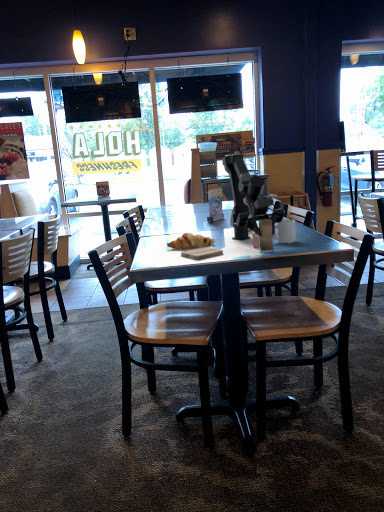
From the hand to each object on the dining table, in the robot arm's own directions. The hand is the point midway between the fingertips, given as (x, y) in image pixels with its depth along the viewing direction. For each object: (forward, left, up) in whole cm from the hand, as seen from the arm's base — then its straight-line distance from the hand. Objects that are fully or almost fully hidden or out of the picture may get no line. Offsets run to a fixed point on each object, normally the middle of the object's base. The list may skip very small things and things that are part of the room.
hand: (267, 235), depth 157 cm
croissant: (-36, -12, -7) cm, 38 cm away
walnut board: (-18, -19, -7) cm, 27 cm away
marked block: (-12, +7, -7) cm, 15 cm away
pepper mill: (-1, 0, -7) cm, 7 cm away
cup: (-8, +16, -7) cm, 20 cm away
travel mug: (-46, +27, -7) cm, 54 cm away
